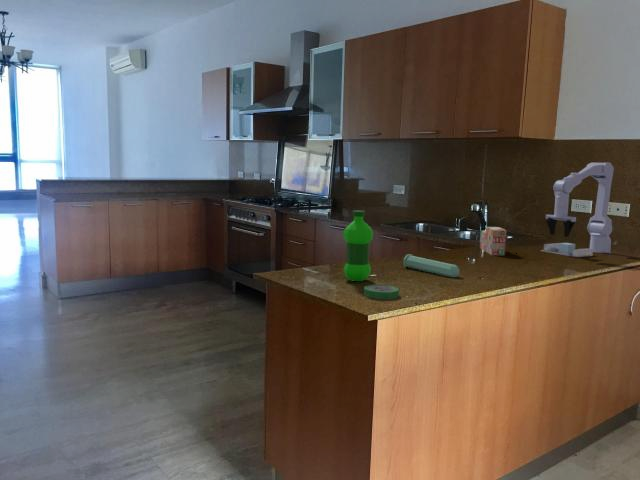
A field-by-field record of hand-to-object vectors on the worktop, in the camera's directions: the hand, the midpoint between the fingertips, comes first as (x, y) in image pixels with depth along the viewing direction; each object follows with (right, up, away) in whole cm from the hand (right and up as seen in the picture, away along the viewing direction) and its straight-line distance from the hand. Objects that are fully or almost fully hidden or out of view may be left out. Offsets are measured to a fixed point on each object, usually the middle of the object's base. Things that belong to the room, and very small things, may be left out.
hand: (559, 235), depth 255 cm
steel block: (+6, -8, +6) cm, 12 cm away
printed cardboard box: (-27, -8, +13) cm, 31 cm away
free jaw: (+2, -7, +14) cm, 16 cm away
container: (-67, -15, -40) cm, 80 cm away
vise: (+6, -9, +7) cm, 13 cm away
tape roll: (-91, -20, -79) cm, 122 cm away
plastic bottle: (-97, -17, -57) cm, 114 cm away
